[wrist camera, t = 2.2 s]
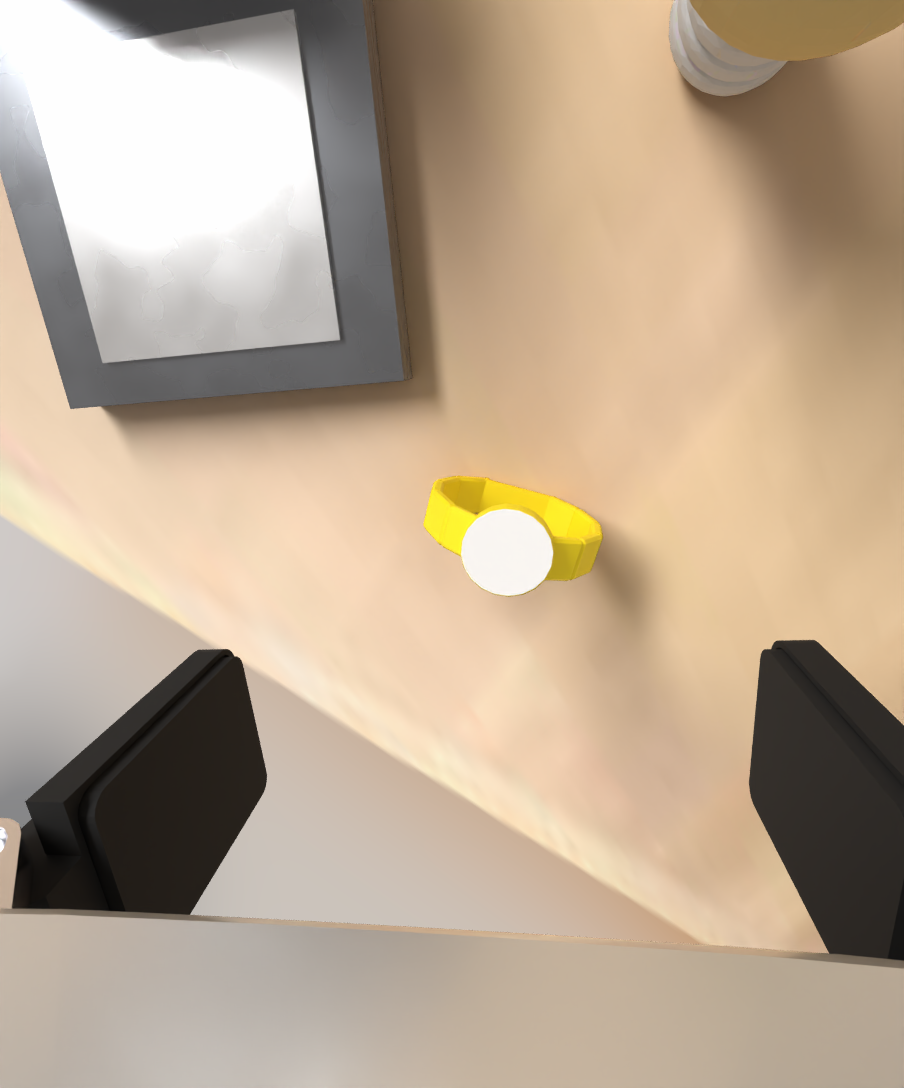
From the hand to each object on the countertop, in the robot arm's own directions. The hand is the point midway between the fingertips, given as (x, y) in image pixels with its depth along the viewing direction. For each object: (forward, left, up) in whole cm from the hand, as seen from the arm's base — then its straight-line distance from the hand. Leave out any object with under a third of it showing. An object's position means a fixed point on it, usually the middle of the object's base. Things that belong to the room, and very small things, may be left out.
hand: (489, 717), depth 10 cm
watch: (0, -1, -13) cm, 13 cm away
